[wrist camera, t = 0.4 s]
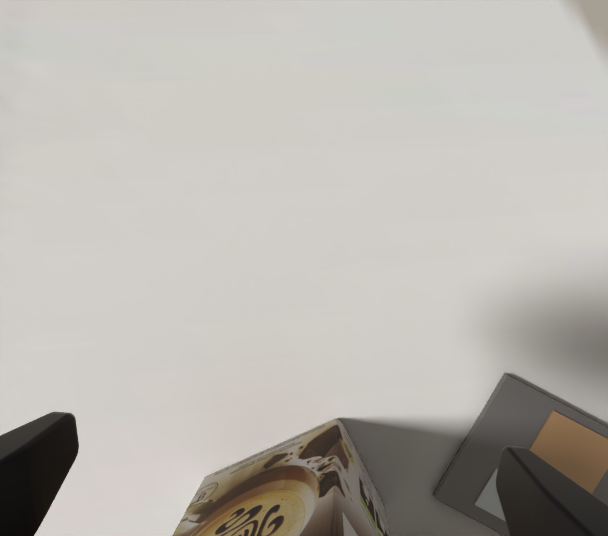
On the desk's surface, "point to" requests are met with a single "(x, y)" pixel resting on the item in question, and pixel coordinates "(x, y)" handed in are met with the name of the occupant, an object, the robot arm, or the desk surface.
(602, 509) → the robot arm
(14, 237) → the desk surface
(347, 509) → the coffee box
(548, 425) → the card
